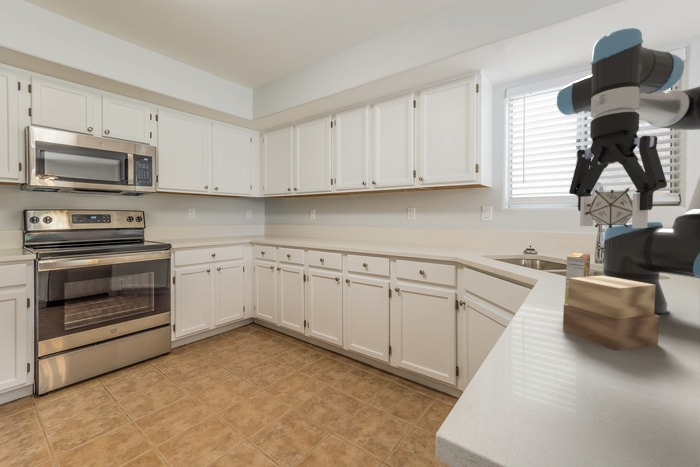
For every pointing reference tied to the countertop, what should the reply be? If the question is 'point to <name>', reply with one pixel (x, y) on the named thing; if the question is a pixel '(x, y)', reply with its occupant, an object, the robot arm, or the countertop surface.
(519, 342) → the countertop surface
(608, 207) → the game die
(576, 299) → the top block
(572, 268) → the candy box
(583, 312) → the bottom block
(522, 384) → the countertop surface
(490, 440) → the countertop surface
